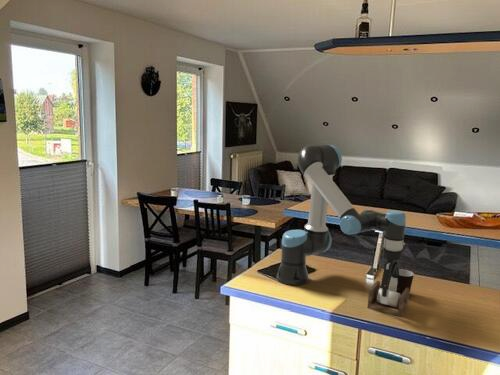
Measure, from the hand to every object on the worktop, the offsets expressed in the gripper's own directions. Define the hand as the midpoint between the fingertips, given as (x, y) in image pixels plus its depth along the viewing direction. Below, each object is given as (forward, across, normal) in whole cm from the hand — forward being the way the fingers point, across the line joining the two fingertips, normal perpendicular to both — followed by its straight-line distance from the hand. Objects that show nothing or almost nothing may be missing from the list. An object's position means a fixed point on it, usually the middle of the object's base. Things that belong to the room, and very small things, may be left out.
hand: (388, 297), depth 174 cm
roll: (+3, -1, 0) cm, 3 cm away
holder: (+4, 0, 0) cm, 4 cm away
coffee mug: (+4, +19, -1) cm, 19 cm away
